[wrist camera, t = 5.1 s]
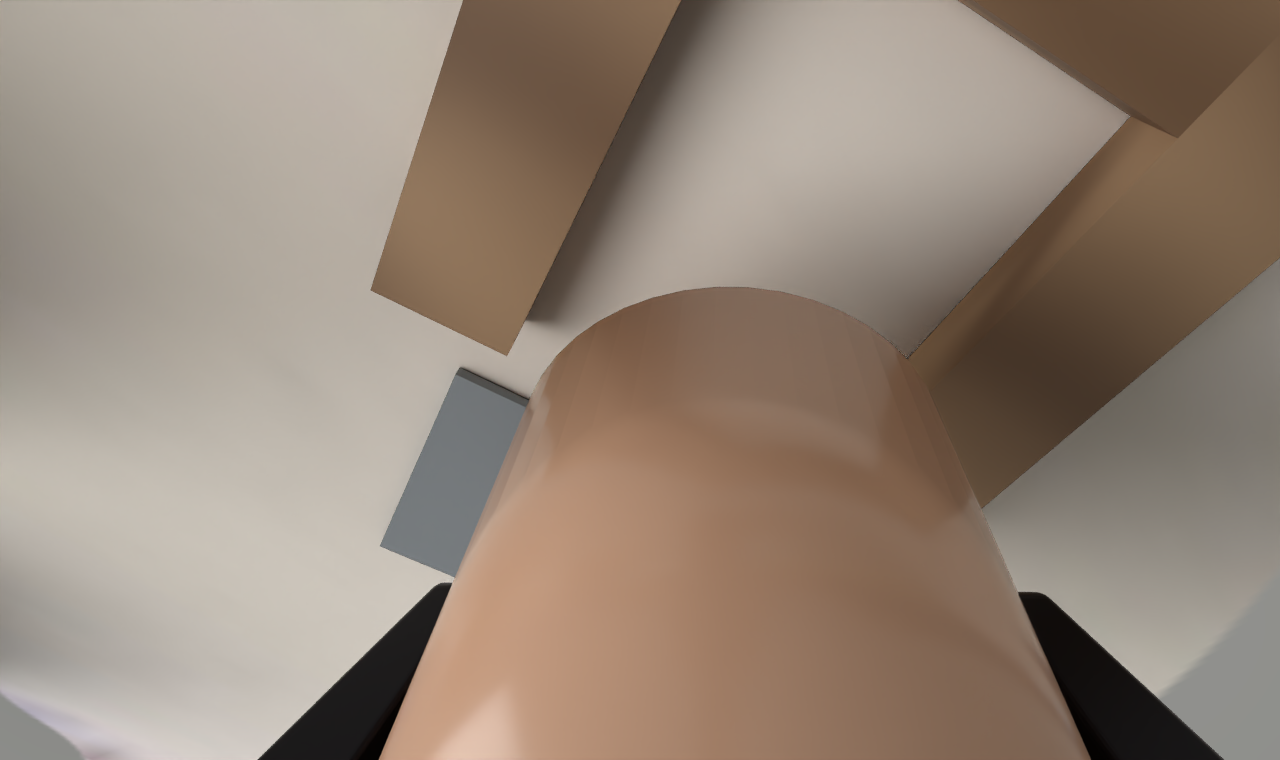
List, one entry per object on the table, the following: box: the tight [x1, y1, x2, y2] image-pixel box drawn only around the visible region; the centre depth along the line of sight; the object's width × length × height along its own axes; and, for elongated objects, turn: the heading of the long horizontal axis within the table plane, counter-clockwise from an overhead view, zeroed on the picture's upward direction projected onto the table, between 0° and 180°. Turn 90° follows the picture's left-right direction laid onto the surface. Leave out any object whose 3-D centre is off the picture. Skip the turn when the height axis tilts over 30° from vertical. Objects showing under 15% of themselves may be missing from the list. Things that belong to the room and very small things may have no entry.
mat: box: [380, 368, 529, 577], centre depth 19 cm, size 7×9×1 cm
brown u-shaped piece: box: [371, 0, 1280, 509], centre depth 12 cm, size 12×14×2 cm
